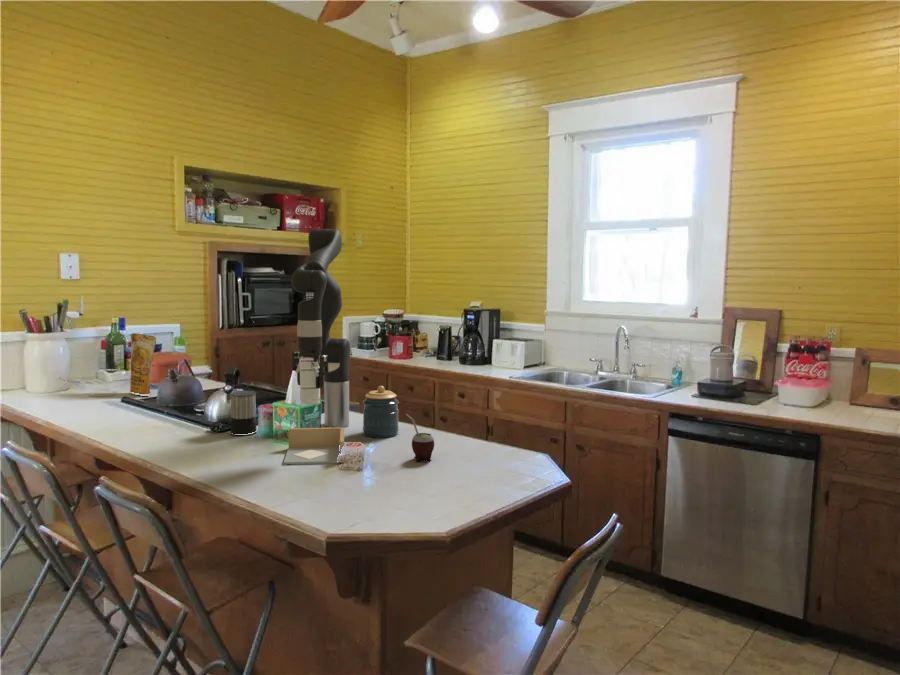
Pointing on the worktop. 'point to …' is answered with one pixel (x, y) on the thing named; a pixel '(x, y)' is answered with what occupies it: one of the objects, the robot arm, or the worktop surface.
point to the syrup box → (308, 382)
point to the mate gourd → (422, 444)
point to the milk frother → (240, 413)
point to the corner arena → (314, 445)
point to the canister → (380, 413)
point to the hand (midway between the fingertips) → (310, 386)
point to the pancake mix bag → (141, 362)
